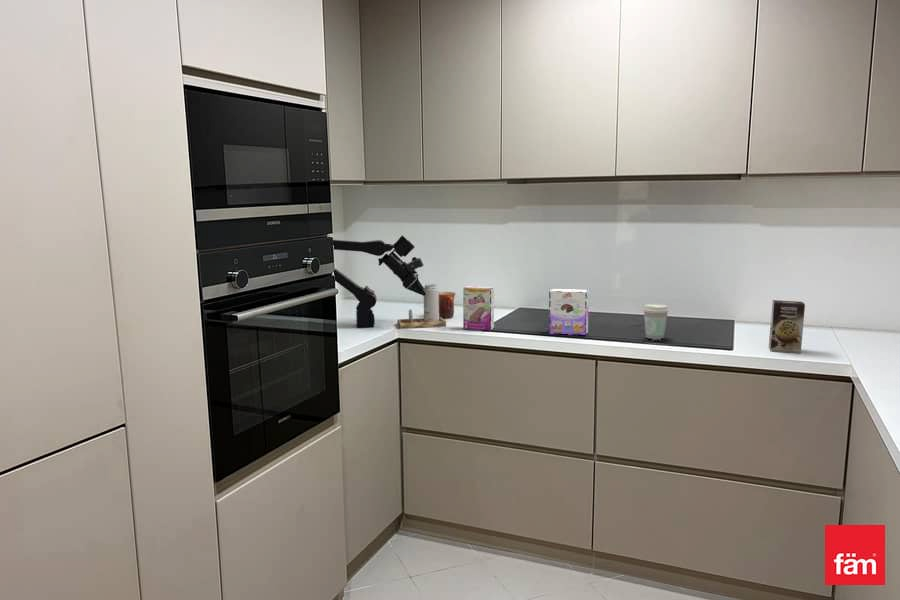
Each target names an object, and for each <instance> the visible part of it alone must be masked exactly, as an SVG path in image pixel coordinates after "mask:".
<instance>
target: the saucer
mask: <svg viewBox="0 0 900 600" xmlns="http://www.w3.org/2000/svg"><path fill="white" fill-rule="evenodd" d="M408 319H409V323H412V321H413V319H414V317H413V310H412V309H411V308H410V309H408Z"/></svg>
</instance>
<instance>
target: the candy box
mask: <svg viewBox="0 0 900 600" xmlns="http://www.w3.org/2000/svg"><path fill="white" fill-rule="evenodd" d="M589 291H590V290H589V289H577V288H576V289H574V288H572V289H570V288H568V289H567V288H551V289H550V290H549V291H548V300H549V301H548V302H549V303H548V334H549V333H550V334H549V335H559V334H568V335H567V336H579V335H586V334H587V333H588V334H589V296H590V295H589ZM588 334H587V335H588ZM587 335H586V336H587Z"/></svg>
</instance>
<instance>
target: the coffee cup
mask: <svg viewBox="0 0 900 600" xmlns="http://www.w3.org/2000/svg"><path fill="white" fill-rule="evenodd" d="M642 311H643V313H644V314H643V317H644V330H645V331H644V332H645V338H646V337H647V338H653V339H661V338H663V339H664V336H665V330H666V324H667V319H668V313H669V308H668V305H666V304H661V303H647V304H645V305H644V308H643V310H642Z"/></svg>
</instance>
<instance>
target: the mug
mask: <svg viewBox="0 0 900 600" xmlns="http://www.w3.org/2000/svg"><path fill="white" fill-rule="evenodd" d="M455 296H456V292H454V291H439V317H442V318H444V320H445V319H446V318H447V319H452V318H453V317H454V315H455V298H456V297H455Z"/></svg>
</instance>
